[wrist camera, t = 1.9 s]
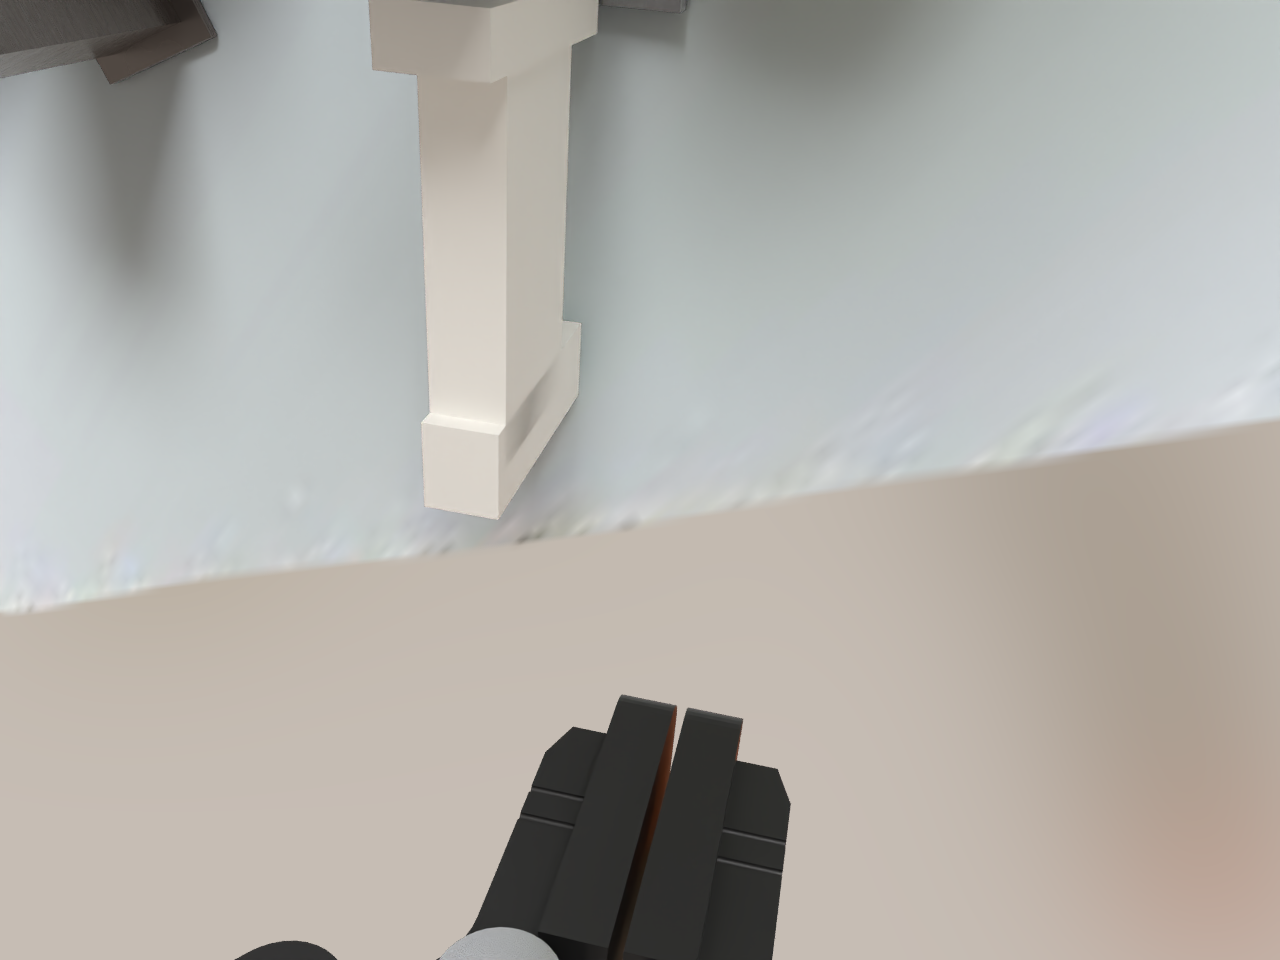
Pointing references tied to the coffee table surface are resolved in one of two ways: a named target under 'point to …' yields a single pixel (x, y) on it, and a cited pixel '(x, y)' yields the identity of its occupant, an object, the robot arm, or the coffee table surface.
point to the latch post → (98, 34)
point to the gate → (490, 231)
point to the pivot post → (648, 4)
